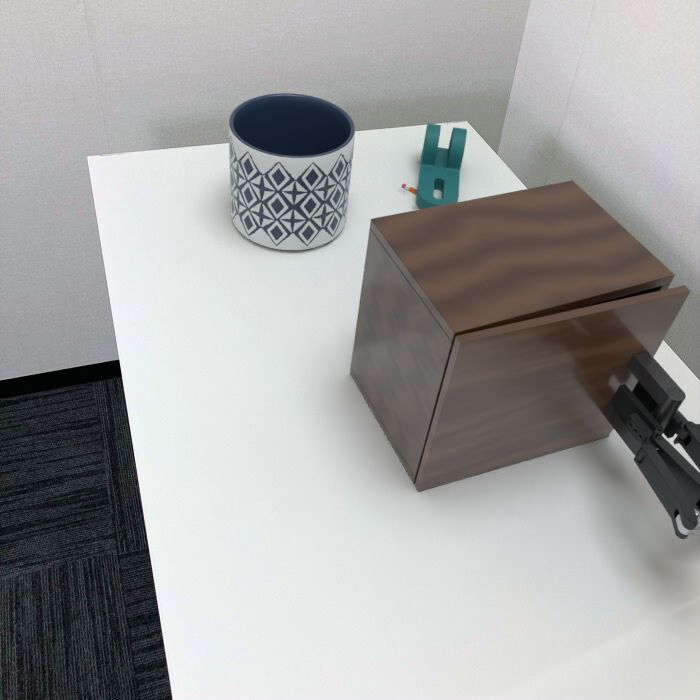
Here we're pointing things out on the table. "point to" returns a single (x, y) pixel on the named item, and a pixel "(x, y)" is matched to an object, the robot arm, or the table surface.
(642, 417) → the robot arm
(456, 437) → the door
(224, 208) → the table surface
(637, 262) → the cupboard
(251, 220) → the planter
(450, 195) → the bracket
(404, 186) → the pencil
